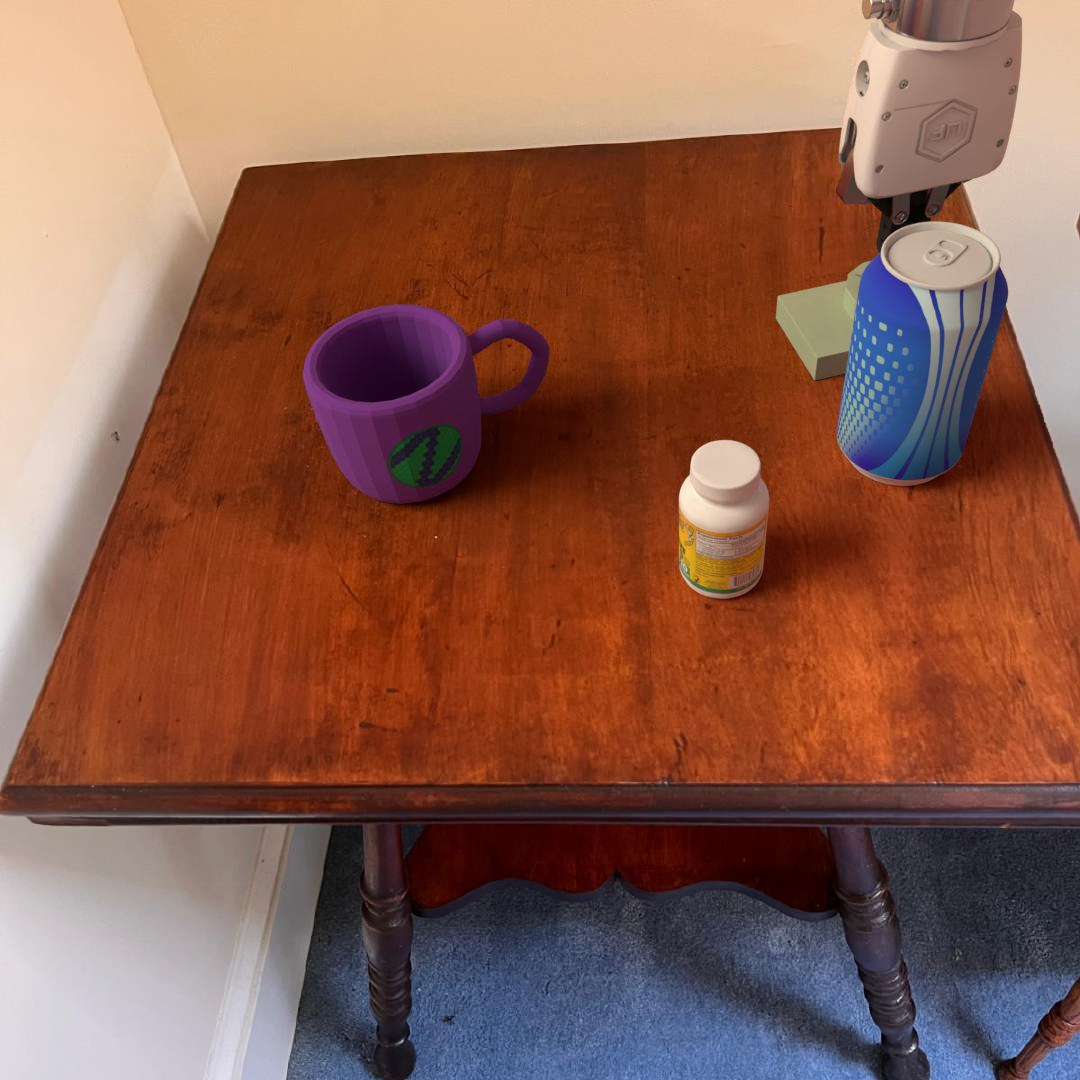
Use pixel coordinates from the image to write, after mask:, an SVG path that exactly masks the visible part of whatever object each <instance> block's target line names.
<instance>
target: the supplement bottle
mask: <svg viewBox="0 0 1080 1080" xmlns="http://www.w3.org/2000/svg"><path fill="white" fill-rule="evenodd" d="M761 464H762V463H761V460H760V457H759V455H758V454H757V452H756V451H755V450H754V449H753V448H751V447H750V446H748V445H747V444H745V443H742V442H740V441H737V440H731V439H719V440H714V441H713V440H712V441H710V442H707V443H705V444H703V445H702V446H700V447H699V448H697V449H696V451H695V452H694V453H693V454H692V456H691V460H690V465H689V466H690V467H689V475H688V476H687V477H686V478H685V479H684V481H683V483H682V484H681V487H680V490H679V493H678V565H679V567H678V568H679V571H680V574H681V576H682V578H683V579H684V581H685V583H686V584H687V585H688V587H690V588H691V589H692V590H693V591H695V592H696V593H697V594H699V595H702V596H704V597H707V598H711V599H718V600H727V599H733V598H737V597H740V596H743V595H745V594H747V593H748V592H749V591H751V590H752V589H753V588H754V587H755V586H756V585H758V583H759V581H760V579H761V577H762V575H763V572H764V571H763V570H764V562H765V552H766V541H767V540H766V539H767V527H768V518H769V510H770V492H769V489H768V487H767V485H766V482H765V481H764V480H763V478H762V477H761V467H762V465H761Z"/></svg>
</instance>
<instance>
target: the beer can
mask: <svg viewBox="0 0 1080 1080" xmlns="http://www.w3.org/2000/svg"><path fill="white" fill-rule="evenodd" d="M1001 260H1002V256H1001V251H1000V248H999V247H998V245H997V244H996V242H995V241H994V240H993V239H991V237H989V236H988V235H987V234H985V233H984V232H982V231H980V230H978V229H976V228H973V227H971V226H968V225H966V224H965V225H964V224H961V223H960V224H959V223H955V222H950V221H930V222H922V223H916V224H912V225H908V226H905V227H903V228H901V229H899V230H897V231H895V232H893V233H892V234H891V235H890V236H889V237H888V238H887V239H886V240H885V242H884V243H883V246H882V249H881V252H880V253H879V252H878V254H877V255H876V256H875V257H874V258H873V259H872V260H870V261H871V262H870V263H869V264H868V266H867V267H866V268H865V270H864V272H863V274H862V276H861V280H860V285H859V291H858V297H857V304H856V310H855V316H854V323H853V329H852V335H851V342H850V348H849V355H848V361H847V367H846V374H844V380H843V385H842V386H843V387H842V393H841V399H840V406H839V412H838V419H837V425H836V441H837V444H838V446H839V448H840V450H841V452H842V453H843V455H844V456H845V457H846V458H847V460H848V461H849V462H850V464H851V466H853V468H854V469H856V470H857V471H858V472H859V473H860V474H862V476H865V477H866V478H869V479H871V480H872V481H875V482H877V483H879V484H880V483H881V484H884V485H889V486H895V487H911V486H917V485H922V484H924V483H927V482H930V481H932V480H934V479H936V478H937V477H938V476H941V475H942V474H945V473H946V472H948V471H949V470H951V469H952V468H954V467H955V465H956V464H957V463H958V462H959V461H960V460H961V458H962V456H963V454H964V451H965V448H966V445H967V441H968V437H969V434H970V430H971V427H972V423H973V420H974V417H975V413H976V410H977V408H978V407H977V406H978V403H979V399H980V396H981V393H982V389H983V386H984V382H985V379H986V376H987V372H988V370H989V369H988V368H989V365H990V362H991V358H992V356H993V352H994V348H995V345H996V341H997V339H998V334H999V331H1000V327H1001V324H1002V320H1003V317H1004V313H1005V310H1006V307H1007V303H1008V300H1009V299H1008V298H1009V286H1008V281H1007V279H1006V277H1005V274H1004V272H1003V270H1002V268H1001Z"/></svg>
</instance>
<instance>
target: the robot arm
mask: <svg viewBox="0 0 1080 1080" xmlns="http://www.w3.org/2000/svg"><path fill="white" fill-rule="evenodd" d="M1014 4H1015V0H862V1H861V12H862V16H863V18H864V19H865V20H872V19H875V20H873V21H871V22H870V23H869V25H868V27H867V28H868V29H867V31H866V34H865V37H864V39H863V42H862V44H861V48H860V51H859V54H858V57H857V60H856V63H855V67H854V70H853V74H852V78H851V82H850V86H849V90H848V94H847V100H846V104H845V108H844V113H843V120H842V125H841V131H840V139H839V147H838V163H839V165H840V168H843V169H842V170H841V171H842V172H841V174H840V176H839V178H838V182H837V185H836V187H835V194H836V195H837V196H838V198H839V199H840V201H841V202H842V203H843V204H845V205H868V204H871V205H873V207H875V208H876V209H877V210H878V211H880V212H881V214H880V220H879V227H878V233H877V237H876V249H877V252H878V254H879V253H880V252H881V249H882V246H883V243H884V242H885V240H886V239H887V238H888V237H889V236H890V235H891V234H892V233H893V232H895V231H897V230H899V229H901V228H903V227H905V226H908V225H912V224H916V223H922V222H932V221H931V220H932V218H935V217H936V216H938V215H939V214H940V213H941V211H942V209H943V206H944V203H945V201H946V200H947V199H948V198H949V197H950V196H951V195H952V194H953V193H954V192H955V191H956V190H957V189H958V188H959V187H960V186H961V185H962V183H963V184H966V183H967V182H970V181H972V180H974V179H978V178H981V177H984V176H986V175H989V174H990V173H992V172H994V171H995V170H996V169H998V168H999V167H1000V166H1001V164H1002V163H1003V160H1004V158H1005V156H1006V152H1007V149H1008V145H1009V142H1010V137H1011V132H1012V128H1013V123H1014V117H1015V112H1016V105H1017V100H1018V93H1019V86H1020V79H1021V69H1022V53H1023V51H1022V50H1023V18H1022V17H1021V16H1020V14H1019V13H1017V12H1016V11H1014V10H1013V9H1014Z"/></svg>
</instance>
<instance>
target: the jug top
mask: <svg viewBox="0 0 1080 1080" xmlns="http://www.w3.org/2000/svg"><path fill="white" fill-rule="evenodd" d="M871 261H872V260H867V261H865V262H862V263H860V264H859V265H858V266H857V267H855V268H854V269H853V270H851V271H850V272H849V273H848V274H847V278H846V280H843V281H839V282H838V281H837V282H833V283H829V284H825V285H820V286H815V287H810V288H807V289H802V290H798V291H794V292H789V293H785V294H780V295H777V299H776V308H775V309H776V311H775V320H776V321H777V323H778V325H779V326H780V328H781V329H782V331H783V333H784V335H785V336H786V337H787V339H788V341H789V342H790V344H791V346H792V347H793V348H794V350H795V353H796V354H797V355H798V357H799V359H800V360H801V361H802V363H803V365H804V366H805V368H806V369H807V371H808V373H809V374H810V376H811V378H812V379H813V381H820V380H824V379H828V378H832V377H838V376H841V375H845V374H846V367H847V361H848V355H849V348H850V342H851V335H852V329H853V323H854V316H855V310H856V304H857V297H858V291H859V285H860V280H861V276H862V274H863V272H864V270H865V268H866V267H867V266H868V264H869V263H870V262H871Z"/></svg>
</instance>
